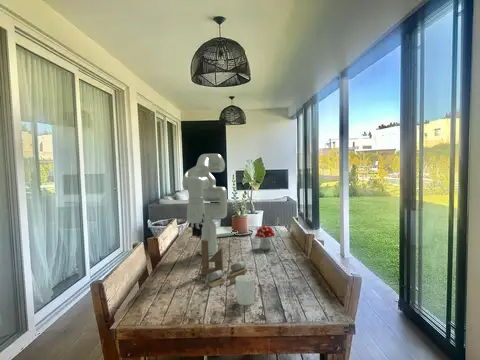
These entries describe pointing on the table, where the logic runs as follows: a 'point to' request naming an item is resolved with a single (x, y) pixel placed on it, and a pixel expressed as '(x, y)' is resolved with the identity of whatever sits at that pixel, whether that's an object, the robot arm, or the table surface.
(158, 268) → the table surface
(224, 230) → the square plate
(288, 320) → the table surface
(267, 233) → the decorative mushroom
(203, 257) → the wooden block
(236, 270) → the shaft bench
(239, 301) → the white cup
